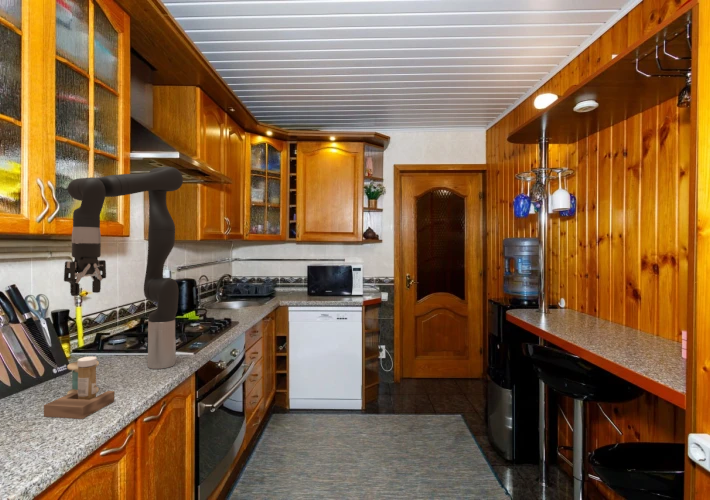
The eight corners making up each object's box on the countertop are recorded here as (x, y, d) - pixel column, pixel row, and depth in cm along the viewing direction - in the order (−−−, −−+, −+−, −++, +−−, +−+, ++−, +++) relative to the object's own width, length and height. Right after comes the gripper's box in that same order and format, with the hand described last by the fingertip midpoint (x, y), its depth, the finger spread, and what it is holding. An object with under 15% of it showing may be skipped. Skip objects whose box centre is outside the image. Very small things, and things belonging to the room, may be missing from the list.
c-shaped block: (79, 399, 119) (79, 389, 119) (114, 401, 118) (114, 391, 118) (43, 416, 107) (43, 405, 107) (82, 418, 106) (82, 407, 106)
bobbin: (81, 387, 129) (81, 359, 128) (104, 389, 128) (104, 360, 128) (60, 397, 121) (60, 366, 121) (85, 398, 120) (85, 368, 120)
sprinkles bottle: (99, 404, 116) (100, 357, 115) (82, 409, 111) (83, 361, 111) (90, 401, 118) (90, 355, 118) (73, 406, 114) (74, 358, 114)
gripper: (92, 242, 133) (92, 291, 134) (56, 241, 119) (55, 296, 119) (113, 242, 133) (113, 292, 133) (79, 241, 118) (79, 297, 119)
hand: (86, 294), depth 126 cm, fingers open, 8 cm apart
